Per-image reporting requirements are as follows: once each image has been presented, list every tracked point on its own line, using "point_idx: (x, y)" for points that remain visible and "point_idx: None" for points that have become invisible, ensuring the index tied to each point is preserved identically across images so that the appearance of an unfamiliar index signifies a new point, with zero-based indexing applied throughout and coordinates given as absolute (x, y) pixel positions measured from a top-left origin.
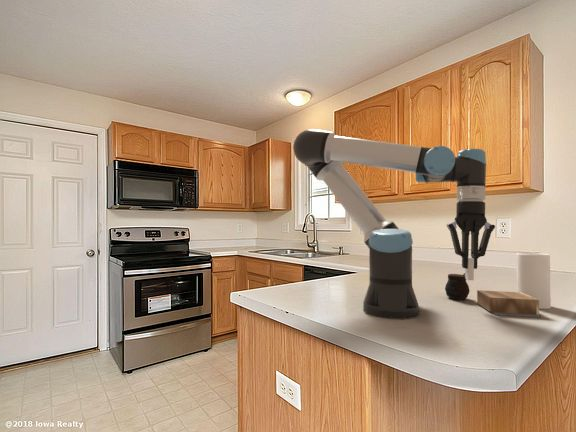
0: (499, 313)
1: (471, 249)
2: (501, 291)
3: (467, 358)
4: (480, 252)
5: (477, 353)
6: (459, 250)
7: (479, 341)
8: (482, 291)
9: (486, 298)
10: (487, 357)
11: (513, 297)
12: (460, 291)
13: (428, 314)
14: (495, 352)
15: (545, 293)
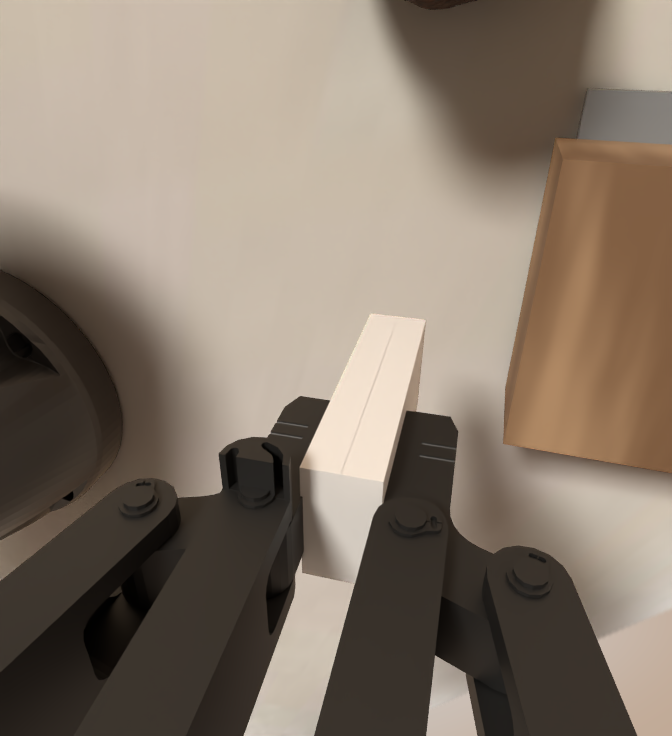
0: None
1: (347, 630)
2: None
3: None
4: (472, 689)
5: (253, 708)
6: (131, 636)
7: (284, 661)
8: (585, 219)
9: (514, 375)
10: (269, 724)
11: None
12: (447, 6)
13: (163, 417)
14: (298, 711)
15: None
